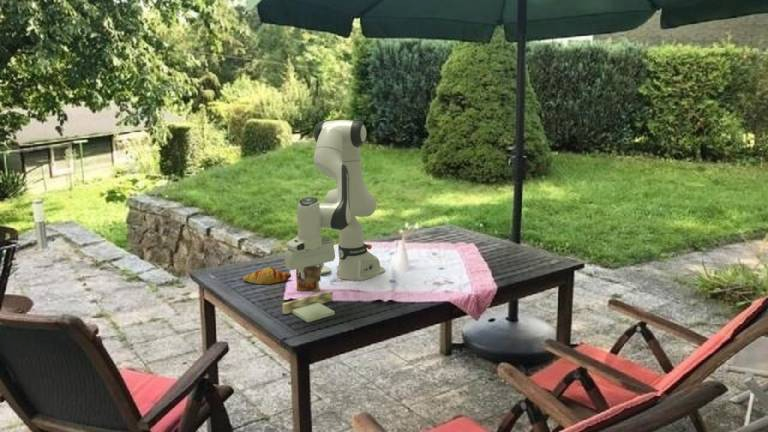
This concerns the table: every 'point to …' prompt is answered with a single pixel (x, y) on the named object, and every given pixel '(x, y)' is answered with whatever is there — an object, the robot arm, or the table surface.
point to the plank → (307, 301)
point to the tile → (313, 312)
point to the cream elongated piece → (325, 269)
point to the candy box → (304, 285)
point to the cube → (312, 274)
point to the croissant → (267, 276)
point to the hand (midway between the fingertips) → (311, 276)
